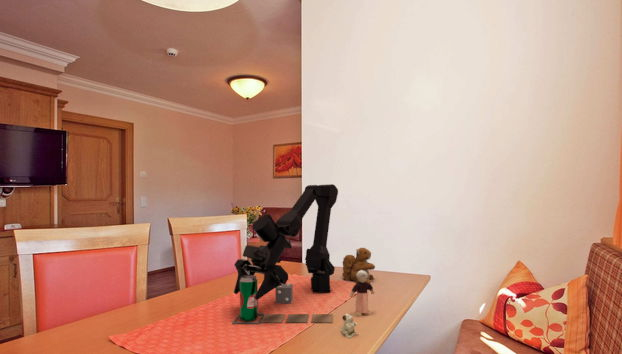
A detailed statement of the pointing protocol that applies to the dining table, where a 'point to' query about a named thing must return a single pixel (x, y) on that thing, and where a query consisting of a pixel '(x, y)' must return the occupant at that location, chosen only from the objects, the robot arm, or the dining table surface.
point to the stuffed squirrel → (357, 265)
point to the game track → (289, 318)
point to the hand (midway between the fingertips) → (245, 296)
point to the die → (284, 294)
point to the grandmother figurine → (362, 293)
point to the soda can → (248, 298)
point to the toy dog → (348, 326)
